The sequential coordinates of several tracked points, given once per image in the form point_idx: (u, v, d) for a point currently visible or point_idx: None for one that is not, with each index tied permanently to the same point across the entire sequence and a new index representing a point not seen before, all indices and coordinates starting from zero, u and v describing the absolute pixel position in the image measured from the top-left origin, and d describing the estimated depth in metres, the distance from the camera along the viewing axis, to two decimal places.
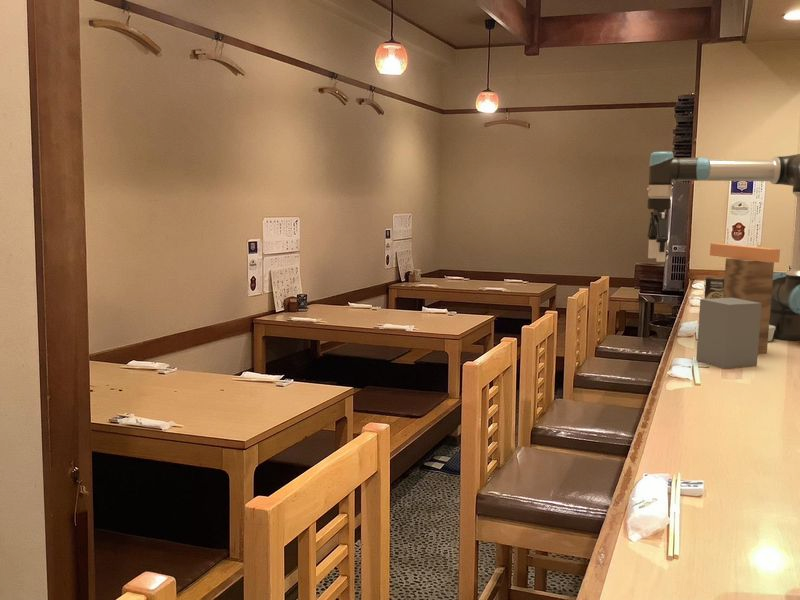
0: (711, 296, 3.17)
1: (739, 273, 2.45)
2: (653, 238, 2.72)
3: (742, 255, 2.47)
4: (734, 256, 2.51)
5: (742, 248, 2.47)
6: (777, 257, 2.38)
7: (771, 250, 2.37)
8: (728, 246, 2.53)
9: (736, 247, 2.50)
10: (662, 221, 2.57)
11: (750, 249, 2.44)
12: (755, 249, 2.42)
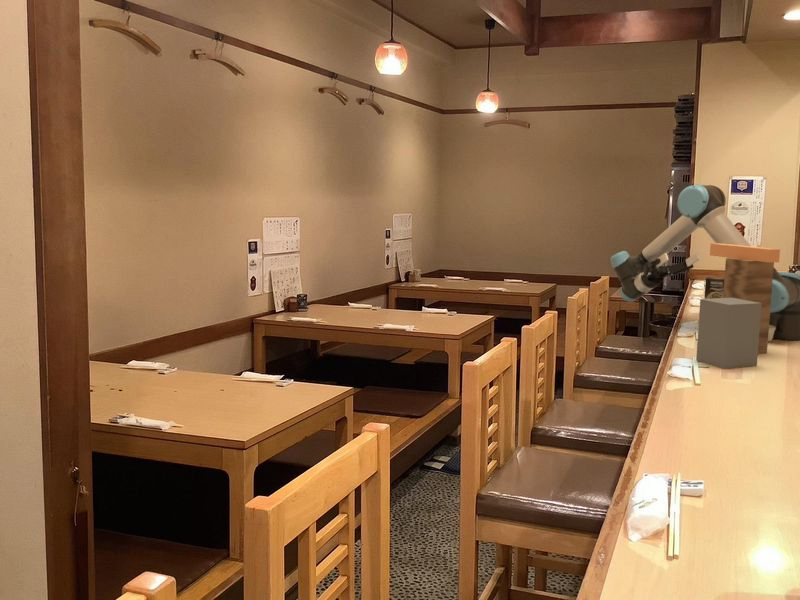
0: (711, 296, 3.17)
1: (739, 273, 2.45)
2: None
3: (742, 255, 2.47)
4: (734, 256, 2.51)
5: (742, 248, 2.47)
6: (777, 257, 2.38)
7: (771, 250, 2.37)
8: (728, 246, 2.53)
9: (736, 247, 2.50)
10: (644, 272, 2.86)
11: (750, 249, 2.44)
12: (755, 249, 2.42)
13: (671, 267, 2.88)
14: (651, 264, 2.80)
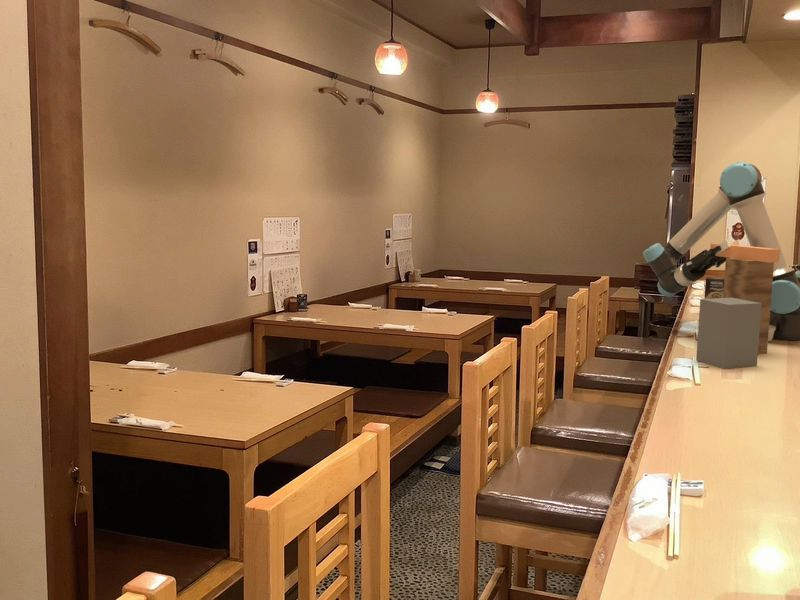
0: (711, 296, 3.17)
1: (739, 273, 2.45)
2: None
3: (742, 255, 2.47)
4: (734, 256, 2.51)
5: (742, 248, 2.47)
6: (777, 257, 2.38)
7: (771, 250, 2.37)
8: None
9: (736, 247, 2.50)
10: (693, 261, 2.64)
11: (750, 249, 2.44)
12: (755, 249, 2.42)
13: (712, 258, 2.65)
14: (710, 252, 2.58)
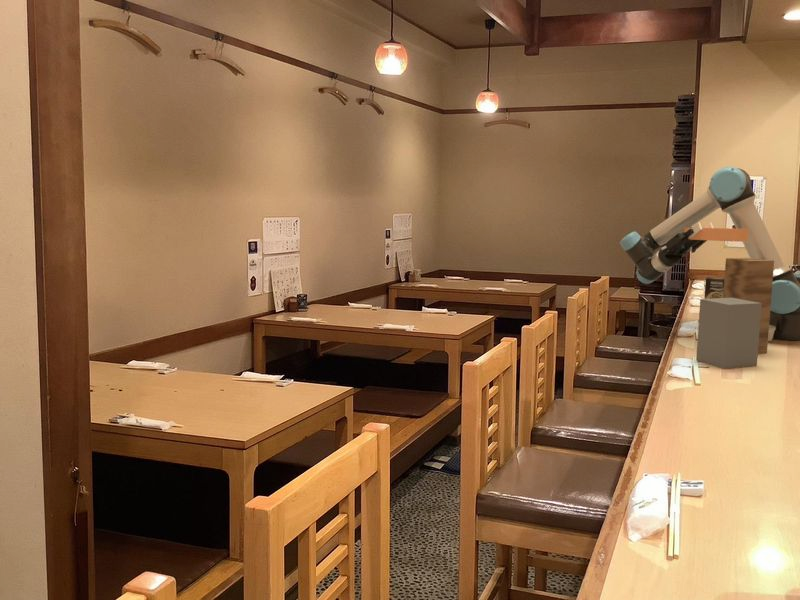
0: (711, 296, 3.17)
1: (739, 273, 2.45)
2: None
3: (713, 237, 2.51)
4: (706, 238, 2.55)
5: (713, 229, 2.51)
6: (745, 236, 2.42)
7: (739, 229, 2.41)
8: None
9: (707, 229, 2.54)
10: (667, 245, 2.68)
11: (720, 230, 2.48)
12: (724, 229, 2.46)
13: (687, 242, 2.69)
14: (683, 235, 2.62)
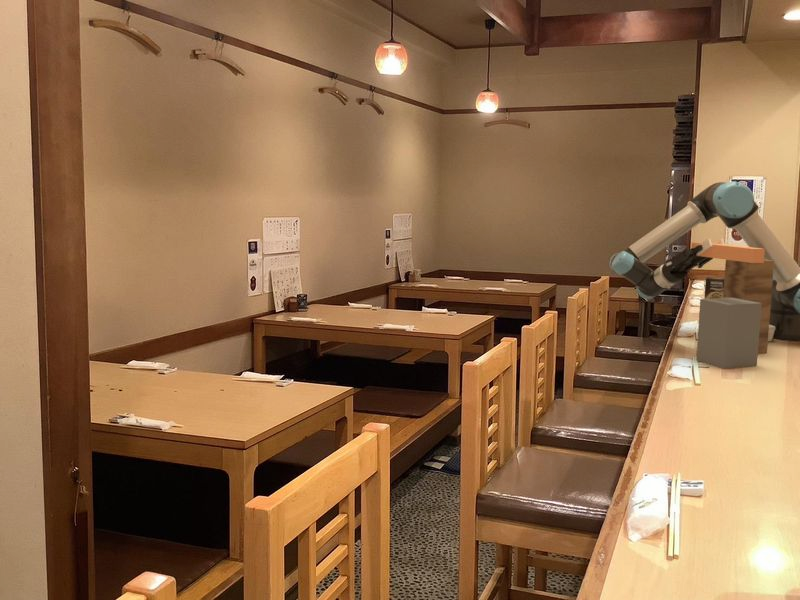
0: (711, 296, 3.17)
1: (739, 273, 2.45)
2: None
3: (725, 255, 2.29)
4: (716, 256, 2.33)
5: (724, 247, 2.29)
6: (762, 257, 2.20)
7: (755, 250, 2.19)
8: None
9: (718, 246, 2.32)
10: (673, 261, 2.46)
11: (733, 248, 2.26)
12: (738, 248, 2.24)
13: (694, 258, 2.47)
14: (691, 251, 2.40)
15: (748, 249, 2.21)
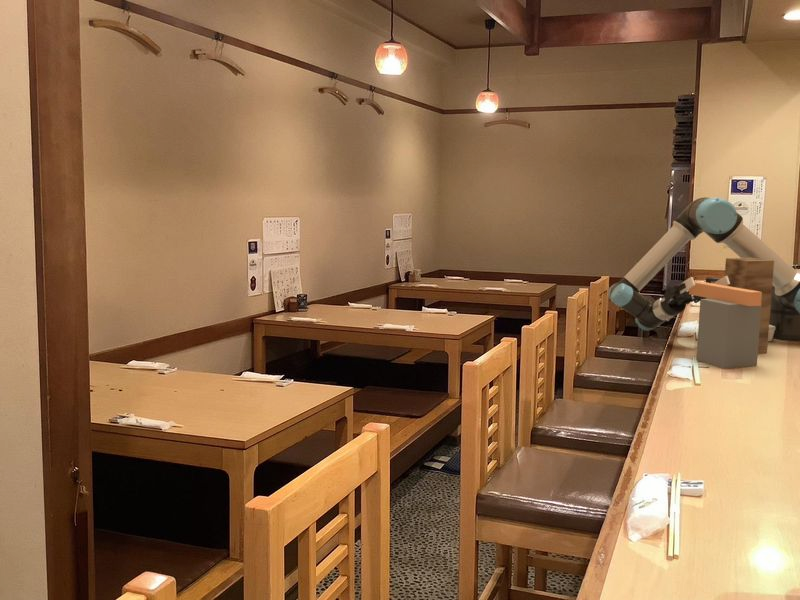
0: None
1: (739, 273, 2.45)
2: None
3: (722, 297, 2.31)
4: (714, 297, 2.35)
5: (722, 289, 2.31)
6: (759, 300, 2.22)
7: (752, 293, 2.21)
8: (708, 286, 2.37)
9: (716, 287, 2.34)
10: (665, 298, 2.48)
11: (730, 290, 2.28)
12: (736, 291, 2.26)
13: None
14: (674, 289, 2.42)
15: (745, 292, 2.22)
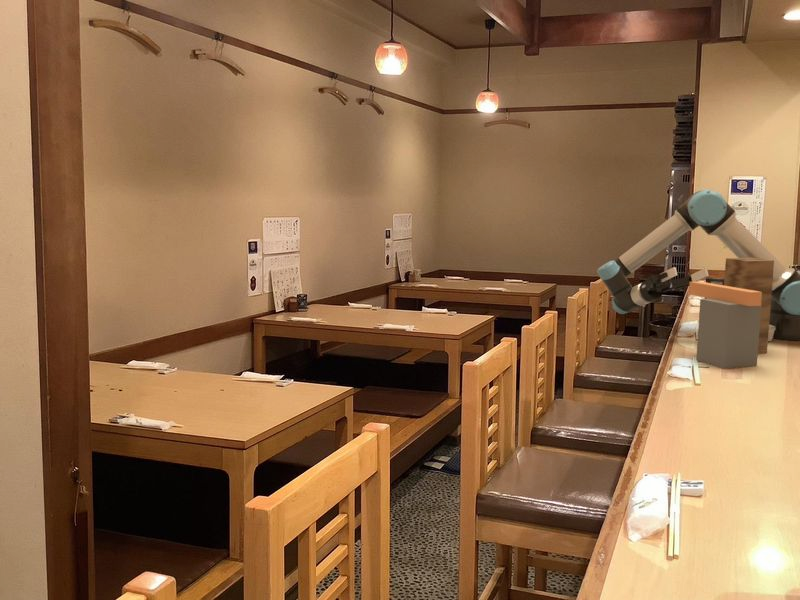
0: None
1: (739, 273, 2.45)
2: None
3: (722, 297, 2.31)
4: (714, 297, 2.35)
5: (722, 289, 2.31)
6: (759, 300, 2.22)
7: (752, 293, 2.21)
8: (708, 286, 2.37)
9: (716, 287, 2.34)
10: (646, 285, 2.60)
11: (730, 290, 2.28)
12: (736, 291, 2.26)
13: (674, 281, 2.63)
14: (656, 278, 2.53)
15: (745, 292, 2.22)
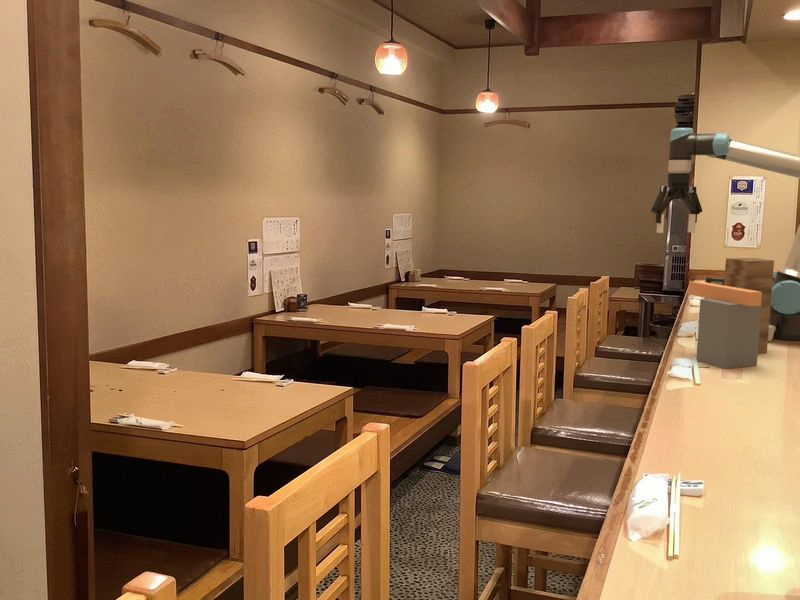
0: None
1: (739, 273, 2.45)
2: (693, 213, 2.78)
3: (722, 297, 2.31)
4: (714, 297, 2.35)
5: (722, 289, 2.31)
6: (759, 300, 2.22)
7: (752, 293, 2.21)
8: (708, 286, 2.37)
9: (716, 287, 2.34)
10: (660, 194, 2.73)
11: (730, 290, 2.28)
12: (736, 291, 2.26)
13: (686, 200, 2.76)
14: (656, 213, 2.73)
15: (745, 292, 2.22)
